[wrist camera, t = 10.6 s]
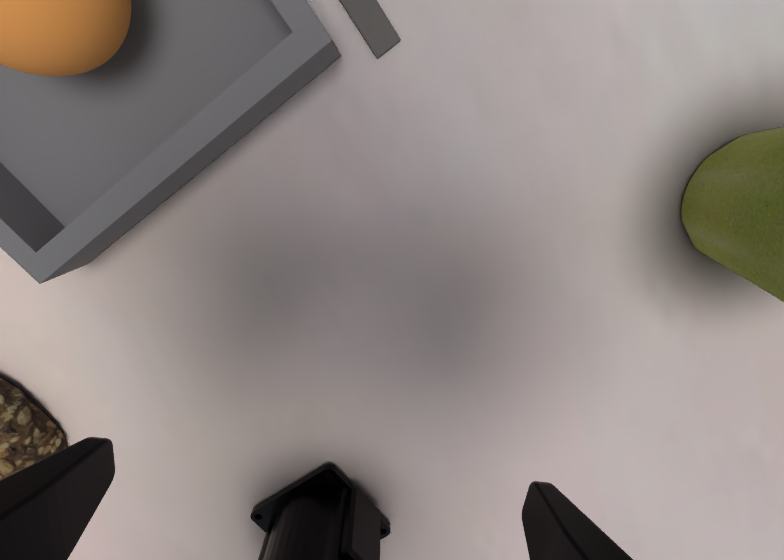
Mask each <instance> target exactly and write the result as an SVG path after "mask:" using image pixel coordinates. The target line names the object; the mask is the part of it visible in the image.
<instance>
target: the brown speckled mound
mask: <svg viewBox="0 0 784 560" xmlns="http://www.w3.org/2000/svg"><path fill="white" fill-rule="evenodd" d="M65 448H66V437H65V436H64V434H63V432H62V431H61V430H60V429H59V428H58V427H57V425H55V424H54V423H53V421H52V420H51V419H50V418H49V417H48V416H47V415H46V414H45V413H44V412H43V411H42V410H41V409H40V408H38V407H37V406H36V405H35V404H33V403H32V402H31V401H30V400H29V399H27V398H26V396H25V395H24V393H23V392H22V391H21V390H20V389H19V388H17V387H15V386H14V385H12V384H10V383H9V382H7V381H5V380H4V379H2V378H0V480H2V479H4V478H6V477H8V476H10V475H12V474H14V473H16V472H18V471H20V470H22V469H24V468H26V467H28V466H30V465H32V464H34V463H37V462H39V461H41V460H43V459H45V458H47V457H49V456H51V455H53V454H55V453H57V452H59V451H61V450H63V449H65Z"/></svg>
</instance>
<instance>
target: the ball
mask: <svg viewBox="0 0 784 560" xmlns="http://www.w3.org/2000/svg"><path fill="white" fill-rule="evenodd" d="M130 19H131V0H0V64H1V65H3V66H6V67H9V68H12V69H15V70H18V71H21V72H25V73H30V74H34V75H41V76H71V75H77V74H81V73H85V72H88V71H90V70H93V69H95V68H97V67H99V66H101V65H102V64H104V63H105V62H107V61H108V60H109V59H110V58H111V57H112V56H113V55H114V54H115V53H116V52H117V51H118V49H119V48H120V46H121V45H122V43H123V41H124V39H125V37H126V35H127V32H128V29H129V25H130Z"/></svg>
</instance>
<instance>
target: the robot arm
mask: <svg viewBox="0 0 784 560" xmlns="http://www.w3.org/2000/svg"><path fill="white" fill-rule="evenodd" d="M327 473H331V474H327ZM114 474H115V463H114V453H113V444H112V441H111V440H110V439H107V438H98V437H89V438H86V439H83V440H81V441H79V442H77V443H75V444H73V445H71V446H69V447H67V448H65V449H63V450H61V451H59V452H57V453H55V454H53V455H51V456H49V457H47V458H45V459H43V460H41V461H39V462H37V463H34V464H32V465H30V466H28V467H26V468H24V469H22V470H20V471H18V472H16V473H14V474H12V475H10V476H8V477H6V478H4V479H2V480H0V560H67V559H68V557H69V556H70V554H71V552H72V551H73V549H74V547H75V546H76V544H77V542H78V540H79V539H80V537H81V535H82V533H83V532H84V530H85V528H86V526H87V525H88V523H89V521H90V519H91V518H92V516H93V514H94V512H95V511H96V509H97V507H98V505H99V504H100V502H101V500H102V498H103V497H104V495H105V493H106V491H107V490H108V488H109V486H110V484H111V482H112V480H113V478H114ZM251 519H252V520H253V521H254V522H255V523H256V524H257V525H258V526H259V527H260V528H261V529H263V530H264V531H265V532H266V536H265V539H264V542H263V546H262V549H261V552H260V555H259V559H258V560H380V539H382V538H384V537H386V536H388V535H389V534H390V523H389V522H388V520H387V519H386V518H385V517H384V516H383V515H382V514H381V513H380V511H379V510H378V509H377V508H376V507H375V506H374V505H373V504H372V503H371V502H370V501H369V500H368V498H367V497H366V496H365V495H364V494H363V493H362V492H361V491H360V490H359V489H358V488H356V487H355V486H354V485H353V484H352V483H351V482H350V481H349V480H348V479H347V478H346V477H345V476H344V475H343V474H342V473H341V472H340V471H339V470H338V469H337V467H335V466H334V465H331V464H327V465H324V466H322V467H321V468H319V469H317V470H316V471H314V472H312V473H311V474H309V475H307V476H306V477H304V478H302V479H300V480H299V481H297V482H295V483H294V484H292V485H290V486H289V487H287V488H285V489H284V490H282V491H280V492H279V493H277V494H275V495H274V496H272V497H270V498H269V499H267V500H265V501H264V502H262V503H260V504H258V505H257V506H255V507H254V508H253V510H252V513H251ZM522 522H523V527H524V532H525V537H526V542H527V547H528V552H529V557H530V560H633V559H632V558H631V557H630V556H629V555H628V554H627V553H625V552H624V551H623V550H622V549H621V548H620V547H619V546H618V545H617V544H616V543H615V542H614V541H613V540H612V539H610V538H609V537H608V536H607V535H606V534H605V533H604V532H603V531H602V530H601V529H600V528H599V527H598V526H597V525H595V524H594V523H593V522H592V521H591V520H590V519H589V518H588V517H587V516H586V515H585V514H584V513H583V512H582V511H580V510H579V509H578V508H577V507H576V506H575V505H574V504H573V503H572V502H571V501H570V500H569V499H568V498H567V497H565V496H564V495H563V494H562V493H561V492H560V491H559V490H558V489H557V488H556V487H555V486H554V485H552V484H551V483H548V482H538V481H534V482H532V483H531V484H530V486H529V489H528V492H527V496H526V499H525V502H524V505H523V509H522Z"/></svg>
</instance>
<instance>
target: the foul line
mask: <svg viewBox="0 0 784 560" xmlns="http://www.w3.org/2000/svg"><path fill="white" fill-rule="evenodd" d="M340 1H341V3H342V4H343V6H344V7H345V9H346V10H347V12H348V14H349V15H350V17H351V18H352V20H353V21H354V23H355V24H356V26H357V28H358V29H359V31H360V32H361V34H362V35H363V37H364V38H365V40H366V42H367V43H368V45H369V46H370V48H371V49H372V51H373V52H374V54H375V56H376V57H377V59H378V58H379V57H381V56H382V55H383V54H384V53H385V52H387V51H388V50H389V49H390V48H392V47H393V46H394V45H395V44H397V43H398V42H399V41H400V40H401V39H400V38H399V36H398V34H397V33H396V31H395V30H394V28H393V26H392V25H391V23H390V21H389V20H388V18H387V17H386V15H385V13H384V12H383V10H382V8H381V7H380V5H379V4H378V2H377V0H340Z"/></svg>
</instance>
